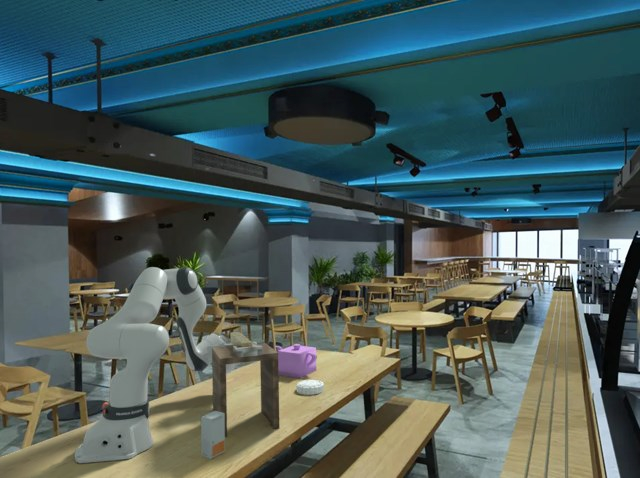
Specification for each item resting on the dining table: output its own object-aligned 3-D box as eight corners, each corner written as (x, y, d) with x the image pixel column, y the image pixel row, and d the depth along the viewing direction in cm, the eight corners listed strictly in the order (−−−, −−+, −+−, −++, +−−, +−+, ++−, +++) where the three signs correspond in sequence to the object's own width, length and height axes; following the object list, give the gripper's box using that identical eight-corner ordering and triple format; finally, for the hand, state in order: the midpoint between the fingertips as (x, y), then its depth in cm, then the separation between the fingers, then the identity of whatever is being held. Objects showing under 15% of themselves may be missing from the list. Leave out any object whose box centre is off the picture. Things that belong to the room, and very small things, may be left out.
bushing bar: (241, 353, 159) (241, 343, 159) (230, 341, 180) (230, 332, 180) (252, 352, 160) (252, 342, 160) (239, 340, 181) (239, 331, 181)
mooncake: (291, 393, 198) (291, 385, 198) (304, 385, 209) (304, 377, 209) (316, 396, 193) (316, 388, 193) (328, 388, 203) (328, 380, 203)
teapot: (283, 366, 243) (283, 339, 243) (324, 371, 230) (324, 343, 230) (266, 373, 230) (265, 344, 230) (308, 379, 217) (307, 349, 217)
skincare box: (211, 459, 137) (210, 419, 137) (201, 456, 139) (200, 416, 139) (225, 451, 142) (225, 412, 142) (215, 448, 144) (215, 410, 144)
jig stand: (221, 438, 151) (220, 350, 152) (213, 419, 169) (211, 339, 169) (280, 429, 159) (278, 344, 159) (266, 411, 176) (265, 335, 176)
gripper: (203, 350, 189) (207, 338, 178) (252, 345, 196) (259, 333, 185) (204, 365, 186) (208, 354, 175) (254, 360, 193) (261, 349, 182)
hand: (234, 343), depth 180 cm, fingers open, 8 cm apart
